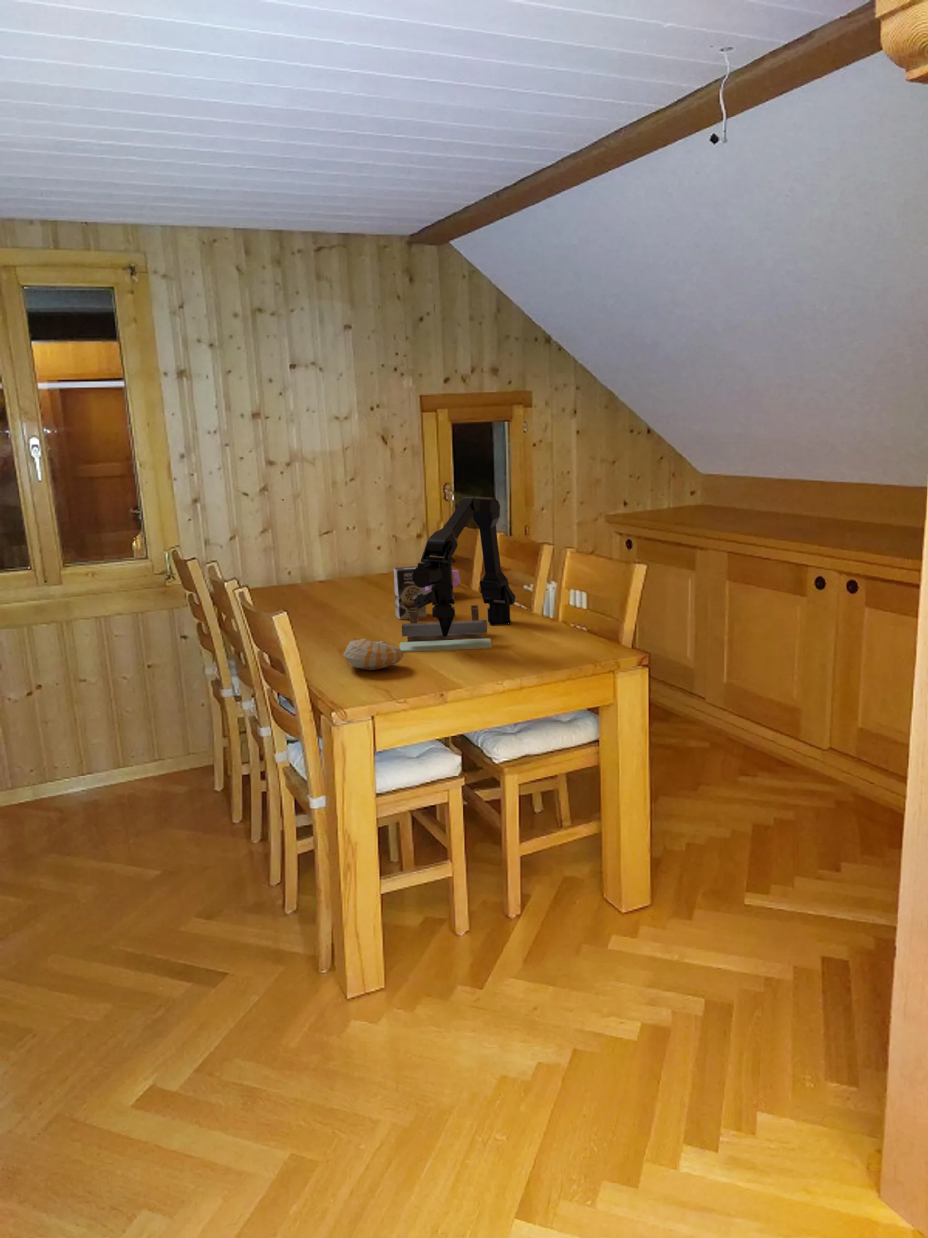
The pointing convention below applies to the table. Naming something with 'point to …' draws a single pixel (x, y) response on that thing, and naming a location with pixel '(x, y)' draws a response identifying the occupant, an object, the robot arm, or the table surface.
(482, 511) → the robot arm
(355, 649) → the nautilus
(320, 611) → the table surface
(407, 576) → the cookie box
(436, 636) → the hook stand
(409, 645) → the rubber mat
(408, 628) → the hang rail
